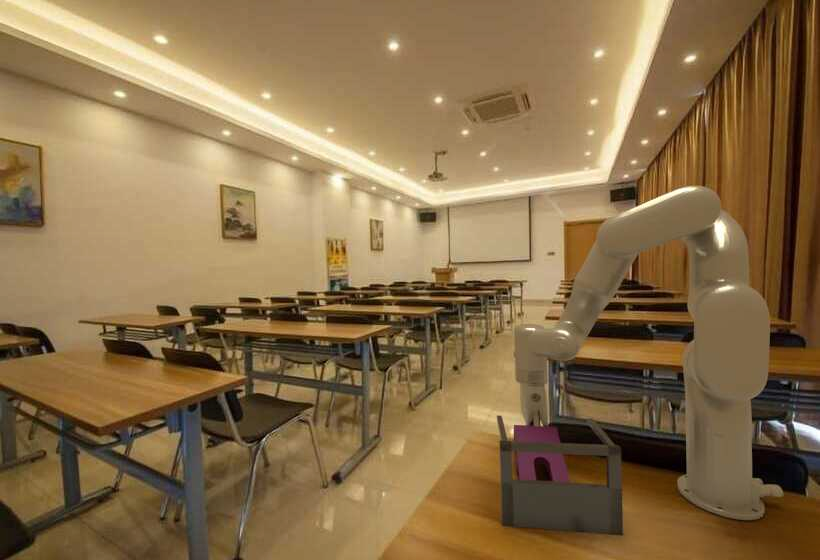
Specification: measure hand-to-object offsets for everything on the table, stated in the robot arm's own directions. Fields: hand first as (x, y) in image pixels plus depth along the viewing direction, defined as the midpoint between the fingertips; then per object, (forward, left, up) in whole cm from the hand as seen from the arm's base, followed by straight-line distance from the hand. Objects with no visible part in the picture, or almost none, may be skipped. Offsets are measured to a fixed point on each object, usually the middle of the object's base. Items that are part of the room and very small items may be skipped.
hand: (533, 448), depth 86 cm
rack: (0, +19, -1) cm, 19 cm away
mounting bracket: (+1, +12, -2) cm, 12 cm away
